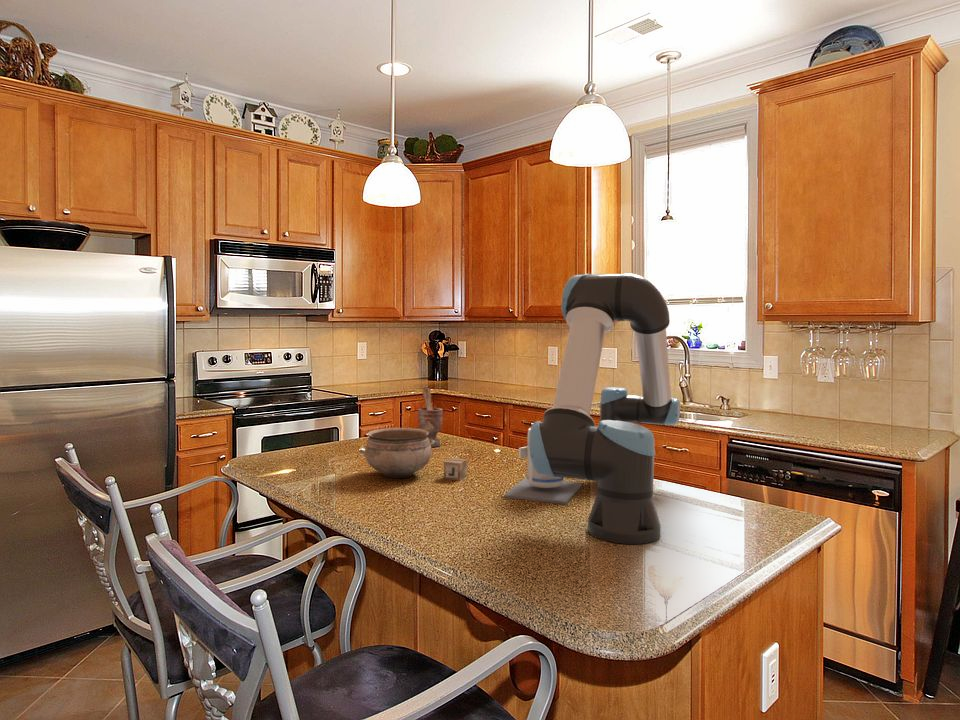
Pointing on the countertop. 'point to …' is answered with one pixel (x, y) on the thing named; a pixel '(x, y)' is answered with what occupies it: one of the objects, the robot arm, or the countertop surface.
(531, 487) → the grey mat
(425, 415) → the mortar and pestle
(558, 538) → the countertop surface
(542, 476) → the supplement tub
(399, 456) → the cooking pot
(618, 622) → the countertop surface
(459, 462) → the lettered block
